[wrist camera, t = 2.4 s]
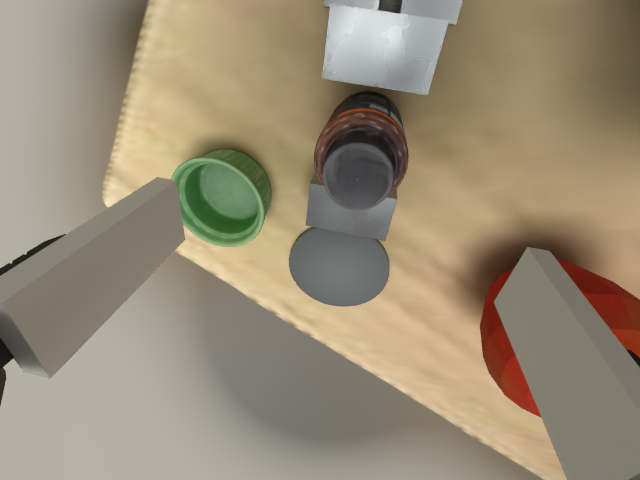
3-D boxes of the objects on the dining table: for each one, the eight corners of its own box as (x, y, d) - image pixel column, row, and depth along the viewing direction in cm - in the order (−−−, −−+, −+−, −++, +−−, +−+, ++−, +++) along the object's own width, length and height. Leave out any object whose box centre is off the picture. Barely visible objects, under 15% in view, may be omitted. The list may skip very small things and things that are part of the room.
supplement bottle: (338, 167, 29) (315, 231, 19) (324, 98, 26) (289, 134, 16) (405, 156, 27) (415, 220, 18) (399, 82, 24) (407, 112, 15)
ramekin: (281, 228, 34) (268, 251, 30) (203, 221, 35) (182, 243, 31) (273, 144, 29) (256, 160, 25) (183, 141, 30) (155, 155, 26)
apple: (511, 210, 28) (599, 334, 16) (633, 255, 28) (804, 407, 17) (440, 300, 35) (468, 432, 23) (539, 335, 35) (614, 482, 24)
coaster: (294, 213, 32) (292, 217, 31) (400, 234, 31) (401, 238, 31) (287, 290, 38) (286, 295, 38) (376, 309, 37) (376, 314, 37)
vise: (334, -80, 20) (321, -110, 16) (478, -63, 19) (504, -90, 15) (305, 200, 31) (293, 225, 27) (395, 217, 30) (396, 246, 26)
